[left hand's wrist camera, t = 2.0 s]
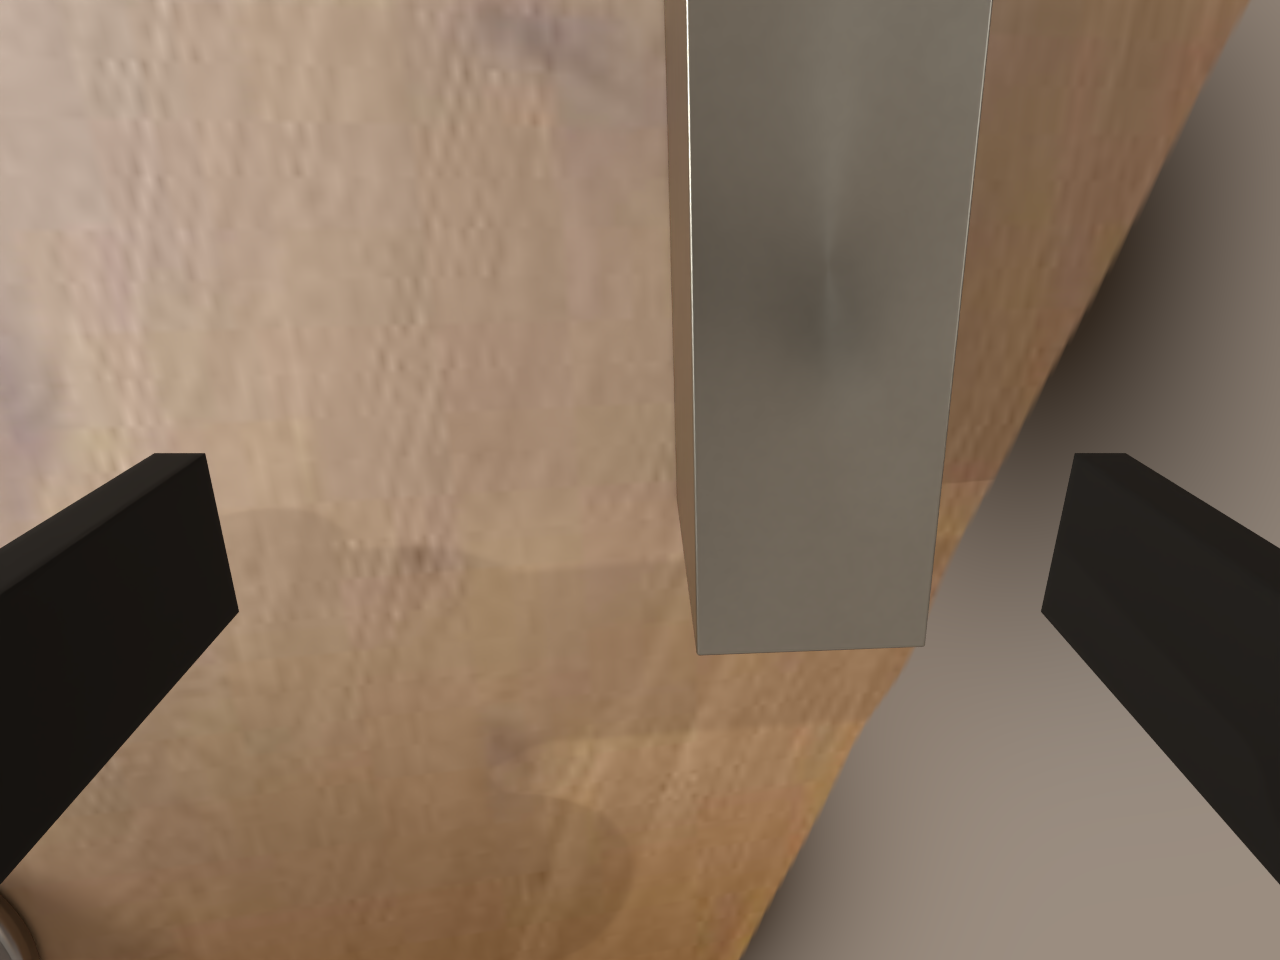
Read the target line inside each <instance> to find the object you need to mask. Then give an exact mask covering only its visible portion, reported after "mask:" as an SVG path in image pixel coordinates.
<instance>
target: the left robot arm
mask: <svg viewBox="0 0 1280 960" xmlns="http://www.w3.org/2000/svg"><path fill="white" fill-rule="evenodd" d="M238 612H239V609H238V605H237V600H236V595H235V591H234V586H233V581H232V577H231V572H230V567H229V563H228V558H227V553H226V549H225V544H224V539H223V535H222V530H221V525H220V521H219V516H218V511H217V507H216V502H215V497H214V493H213V488H212V483H211V478H210V474H209V469H208V464H207V460H206V455H205V453H154V454H152V455H151V456H149V457H148V458H146V459H144V460H143V461H141V462H140V463H138V464H136V465H135V466H133V467H131V468H130V469H128V470H127V471H125V472H123V473H122V474H120V475H118V476H117V477H115V478H114V479H112V480H110V481H109V482H107V483H106V484H104V485H102V486H101V487H99V488H97V489H96V490H94V491H93V492H91V493H89V494H88V495H86V496H84V497H83V498H81V499H80V500H78V501H76V502H75V503H73V504H71V505H70V506H68V507H67V508H65V509H63V510H62V511H60V512H59V513H57V514H55V515H54V516H52V517H50V518H49V519H47V520H46V521H44V522H42V523H41V524H39V525H37V526H36V527H34V528H33V529H31V530H29V531H28V532H26V533H25V534H23V535H21V536H20V537H18V538H16V539H15V540H13V541H12V542H10V543H8V544H7V545H5V546H3V547H2V548H0V884H1V883H2V882H3V881H4V880H5V878H6V877H7V876H8V875H9V874H10V873H11V872H12V870H13V869H14V868H15V867H16V866H17V865H18V864H19V862H20V861H21V860H22V859H23V858H24V857H25V856H26V854H27V853H28V852H29V851H30V850H31V849H32V848H33V846H34V845H35V844H36V843H37V842H38V841H39V840H40V838H41V837H42V836H43V835H44V834H45V833H46V832H47V830H48V829H49V828H50V827H51V826H52V825H53V824H54V822H55V821H56V820H57V819H58V818H59V817H60V816H61V814H62V813H63V812H64V811H65V810H66V809H67V808H68V806H69V805H70V804H71V803H72V802H73V801H74V800H75V798H76V797H77V796H78V795H79V794H80V793H81V792H82V790H83V789H84V788H85V787H86V786H87V785H88V784H89V782H90V781H91V780H92V779H93V778H94V777H95V776H96V774H97V773H98V772H99V771H100V770H101V769H102V768H103V766H104V765H105V764H106V763H107V762H108V761H109V760H110V758H111V757H112V756H113V755H114V754H115V753H116V752H117V750H118V749H119V748H120V747H121V746H122V745H123V744H124V742H125V741H126V740H127V739H128V738H129V737H130V736H131V734H132V733H133V732H134V731H135V730H136V729H137V728H138V726H139V725H140V724H141V723H142V722H143V721H144V720H145V718H146V717H147V716H148V715H149V714H150V713H151V712H152V710H153V709H154V708H155V707H156V706H157V705H158V704H159V702H160V701H161V700H162V699H163V698H164V697H165V696H166V694H167V693H168V692H169V691H170V690H171V689H172V688H173V686H174V685H175V684H176V683H177V682H178V681H179V680H180V678H181V677H182V676H183V675H184V674H185V673H186V672H187V670H188V669H189V668H190V667H191V666H192V665H193V664H194V662H195V661H196V660H197V659H198V658H199V657H200V656H201V654H202V653H203V652H204V651H205V650H206V649H207V648H208V646H209V645H210V644H211V643H212V642H213V641H214V640H215V638H216V637H217V636H218V635H219V634H220V633H221V632H222V630H223V629H224V628H225V627H226V626H227V625H228V624H229V622H230V621H231V620H232V619H233V618H234V617H235V616H236V614H237V613H238ZM1041 612H1042V613H1043V614H1044V615H1045V617H1046V618H1047V619H1048V620H1049V621H1050V622H1051V624H1052V625H1053V626H1054V627H1055V628H1056V629H1057V630H1058V632H1059V633H1060V634H1061V635H1062V636H1063V637H1064V638H1065V640H1066V641H1067V642H1068V643H1069V644H1070V645H1071V646H1072V648H1073V649H1074V650H1075V651H1076V652H1077V653H1078V654H1079V656H1080V657H1081V658H1082V659H1083V660H1084V661H1085V662H1086V664H1087V665H1088V666H1089V667H1090V668H1091V669H1092V670H1093V672H1094V673H1095V674H1096V675H1097V676H1098V677H1099V678H1100V680H1101V681H1102V682H1103V683H1104V684H1105V685H1106V686H1107V688H1108V689H1109V690H1110V691H1111V692H1112V693H1113V694H1114V696H1115V697H1116V698H1117V699H1118V700H1119V701H1120V702H1121V704H1122V705H1123V706H1124V707H1125V708H1126V709H1127V710H1128V712H1129V713H1130V714H1131V715H1132V716H1133V717H1134V718H1135V720H1136V721H1137V722H1138V723H1139V724H1140V725H1141V726H1142V728H1143V729H1144V730H1145V731H1146V732H1147V733H1148V734H1149V736H1150V737H1151V738H1152V739H1153V740H1154V741H1155V742H1156V744H1157V745H1158V746H1159V747H1160V748H1161V749H1162V750H1163V752H1164V753H1165V754H1166V755H1167V756H1168V757H1169V758H1170V759H1171V761H1172V762H1173V763H1174V764H1175V765H1176V766H1177V768H1178V769H1179V770H1180V771H1181V772H1182V773H1183V774H1184V776H1185V777H1186V778H1187V779H1188V780H1189V781H1190V782H1191V784H1192V785H1193V786H1194V787H1195V788H1196V789H1197V790H1198V792H1199V793H1200V794H1201V795H1202V796H1203V797H1204V798H1205V800H1206V801H1207V802H1208V803H1209V804H1210V805H1211V806H1212V808H1213V809H1214V810H1215V811H1216V812H1217V813H1218V814H1219V816H1220V817H1221V818H1222V819H1223V820H1224V821H1225V822H1226V824H1227V825H1228V826H1229V827H1230V828H1231V829H1232V830H1233V832H1234V833H1235V834H1236V835H1237V836H1238V837H1239V838H1240V840H1241V841H1242V842H1243V843H1244V844H1245V845H1246V846H1247V848H1248V849H1249V850H1250V851H1251V852H1252V853H1253V854H1254V856H1255V857H1256V858H1257V859H1258V860H1259V861H1260V862H1261V864H1262V865H1263V866H1264V867H1265V868H1266V869H1267V870H1268V872H1269V873H1270V874H1271V875H1272V876H1273V877H1274V878H1275V880H1276V881H1277V882H1278V883H1279V884H1280V548H1278V547H1277V546H1275V545H1273V544H1272V543H1270V542H1268V541H1267V540H1265V539H1264V538H1262V537H1260V536H1259V535H1257V534H1255V533H1254V532H1252V531H1251V530H1249V529H1247V528H1246V527H1244V526H1243V525H1241V524H1239V523H1238V522H1236V521H1234V520H1233V519H1231V518H1230V517H1228V516H1226V515H1225V514H1223V513H1221V512H1220V511H1218V510H1217V509H1215V508H1213V507H1212V506H1210V505H1208V504H1207V503H1205V502H1204V501H1202V500H1200V499H1199V498H1197V497H1196V496H1194V495H1192V494H1191V493H1189V492H1187V491H1186V490H1184V489H1183V488H1181V487H1179V486H1178V485H1176V484H1174V483H1173V482H1171V481H1170V480H1168V479H1166V478H1165V477H1163V476H1162V475H1160V474H1158V473H1157V472H1155V471H1153V470H1152V469H1150V468H1149V467H1147V466H1145V465H1144V464H1142V463H1140V462H1139V461H1137V460H1136V459H1134V458H1132V457H1131V456H1129V455H1128V454H1126V453H1075V455H1074V460H1073V465H1072V469H1071V474H1070V478H1069V483H1068V488H1067V493H1066V497H1065V502H1064V507H1063V511H1062V516H1061V521H1060V525H1059V530H1058V535H1057V539H1056V544H1055V549H1054V553H1053V558H1052V563H1051V567H1050V572H1049V577H1048V581H1047V586H1046V591H1045V595H1044V600H1043V605H1042V609H1041ZM0 960H40V959H39V954H38V951H37V948H36V945H35V942H34V940H33V938H32V935H31V933H30V931H29V930H28V928H27V926H26V925H25V923H24V921H23V920H22V919H21V917H20V916H19V915H18V913H17V912H16V911H15V909H14V908H13V907H12V906H11V905H10V904H9V903H8V902H7V900H6V899H5V898H4V897H3V896H2V895H1V894H0Z"/></svg>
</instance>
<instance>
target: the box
mask: <svg viewBox="0 0 1280 960" xmlns="http://www.w3.org/2000/svg"><path fill="white" fill-rule="evenodd" d="M992 3H993V0H664V13H665V52H666V91H667V130H668V169H669V208H670V247H671V286H672V325H673V364H674V403H675V442H676V481H677V504H678V511H679V519H680V527H681V535H682V543H683V551H684V558H685V566H686V574H687V582H688V590H689V598H690V605H691V613H692V621H693V629H694V637H695V644H696V652H697V654H698V655H720V654H745V653H771V652H797V651H823V650H848V649H874V648H900V647H923V646H924V645H925V638H926V629H927V619H928V610H929V600H930V591H931V581H932V572H933V562H934V553H935V543H936V534H937V524H938V515H939V505H940V496H941V487H942V477H943V468H944V458H945V449H946V439H947V430H948V420H949V411H950V401H951V392H952V382H953V373H954V363H955V354H956V344H957V335H958V325H959V316H960V306H961V297H962V288H963V278H964V269H965V259H966V250H967V240H968V231H969V221H970V212H971V202H972V193H973V183H974V174H975V164H976V155H977V145H978V136H979V126H980V117H981V108H982V98H983V89H984V79H985V70H986V60H987V51H988V41H989V32H990V22H991V13H992Z"/></svg>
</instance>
